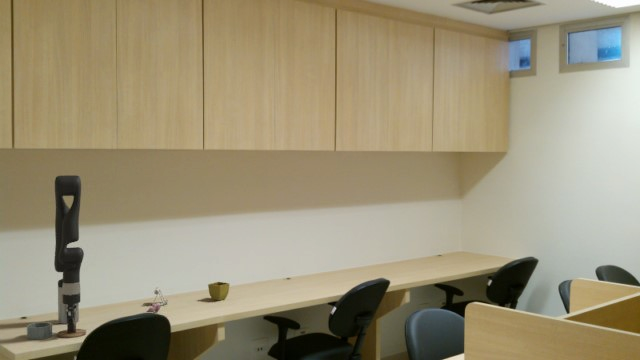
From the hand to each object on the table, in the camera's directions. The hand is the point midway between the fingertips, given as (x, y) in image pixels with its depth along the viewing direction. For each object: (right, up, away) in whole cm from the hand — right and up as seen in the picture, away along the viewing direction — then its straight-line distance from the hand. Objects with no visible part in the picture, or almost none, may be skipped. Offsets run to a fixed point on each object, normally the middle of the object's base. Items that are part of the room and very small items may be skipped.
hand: (71, 330), depth 293 cm
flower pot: (+54, 0, +74) cm, 92 cm away
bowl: (-13, -2, -3) cm, 14 cm away
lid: (0, -2, 0) cm, 2 cm away
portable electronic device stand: (+24, 0, +62) cm, 67 cm away
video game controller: (+27, -1, +36) cm, 45 cm away
